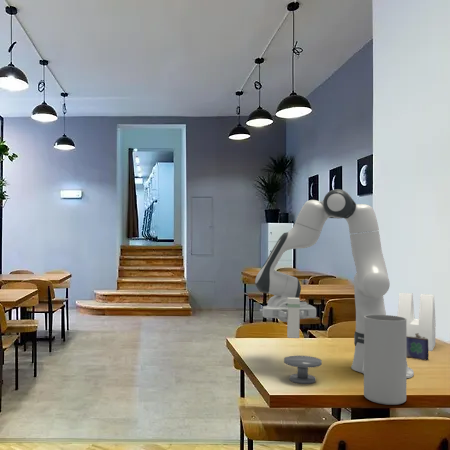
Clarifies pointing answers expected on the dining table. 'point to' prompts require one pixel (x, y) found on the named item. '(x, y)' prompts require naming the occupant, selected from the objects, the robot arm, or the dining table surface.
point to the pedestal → (302, 368)
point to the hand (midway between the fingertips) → (294, 315)
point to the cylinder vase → (385, 359)
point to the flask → (417, 347)
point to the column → (293, 317)
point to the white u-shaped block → (426, 316)
